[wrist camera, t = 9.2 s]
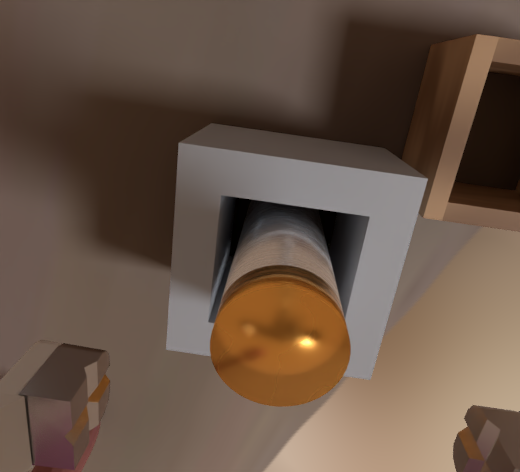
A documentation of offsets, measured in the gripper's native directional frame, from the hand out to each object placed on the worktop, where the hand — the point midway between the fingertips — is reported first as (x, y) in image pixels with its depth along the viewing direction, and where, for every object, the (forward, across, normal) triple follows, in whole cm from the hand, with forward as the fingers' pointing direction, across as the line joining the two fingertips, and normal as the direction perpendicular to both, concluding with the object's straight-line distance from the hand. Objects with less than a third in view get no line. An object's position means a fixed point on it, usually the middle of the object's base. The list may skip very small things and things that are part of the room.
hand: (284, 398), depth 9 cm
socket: (+14, 0, +1) cm, 14 cm away
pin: (+14, 0, +1) cm, 14 cm away
